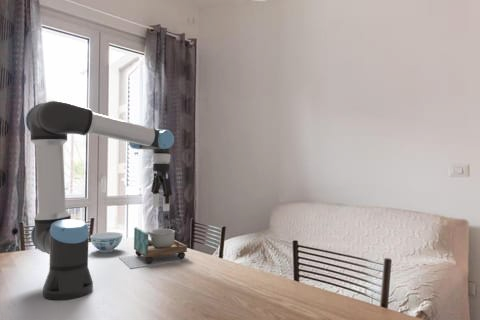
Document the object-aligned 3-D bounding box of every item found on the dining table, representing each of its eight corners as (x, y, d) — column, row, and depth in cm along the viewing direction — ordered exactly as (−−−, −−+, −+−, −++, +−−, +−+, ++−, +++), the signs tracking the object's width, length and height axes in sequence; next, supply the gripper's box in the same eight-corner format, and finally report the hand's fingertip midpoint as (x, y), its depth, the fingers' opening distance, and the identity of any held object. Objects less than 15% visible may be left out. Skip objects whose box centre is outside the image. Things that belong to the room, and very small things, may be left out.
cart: (186, 258, 159) (187, 229, 159) (145, 264, 149) (145, 233, 149) (172, 250, 173) (172, 224, 174) (133, 255, 163) (134, 227, 163)
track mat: (188, 260, 159) (188, 259, 159) (130, 268, 145) (130, 268, 145) (172, 251, 175) (172, 250, 175) (119, 258, 161) (119, 257, 161)
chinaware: (128, 250, 176) (129, 234, 176) (103, 256, 163) (103, 239, 163) (109, 245, 184) (109, 231, 184) (83, 251, 171) (83, 235, 171)
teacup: (177, 245, 166) (177, 229, 167) (170, 251, 156) (170, 233, 156) (148, 244, 168) (149, 228, 168) (140, 250, 157) (140, 232, 157)
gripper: (180, 163, 153) (179, 212, 153) (160, 163, 174) (159, 205, 174) (163, 163, 149) (162, 213, 149) (145, 162, 170) (144, 206, 170)
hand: (160, 209), depth 161 cm, fingers open, 13 cm apart
